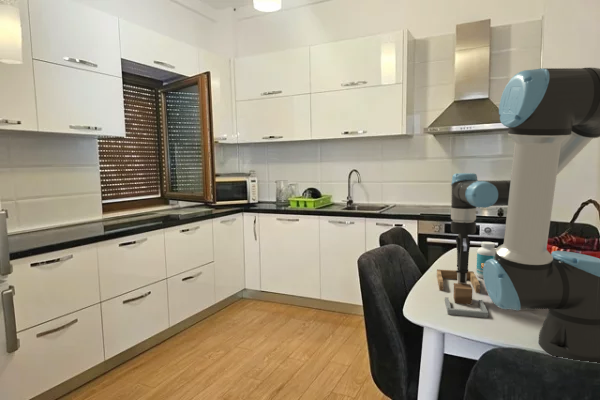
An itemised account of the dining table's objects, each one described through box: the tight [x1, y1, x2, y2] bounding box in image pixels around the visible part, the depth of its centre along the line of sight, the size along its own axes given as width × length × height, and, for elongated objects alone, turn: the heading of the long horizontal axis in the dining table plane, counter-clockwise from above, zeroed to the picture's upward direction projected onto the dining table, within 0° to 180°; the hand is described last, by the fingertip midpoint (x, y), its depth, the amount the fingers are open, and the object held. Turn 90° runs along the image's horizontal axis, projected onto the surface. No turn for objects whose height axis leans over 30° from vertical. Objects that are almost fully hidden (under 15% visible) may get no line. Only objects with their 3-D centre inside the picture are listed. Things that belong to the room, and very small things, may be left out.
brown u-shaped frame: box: [436, 269, 481, 294], centre depth 142 cm, size 16×13×3 cm
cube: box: [453, 282, 473, 305], centre depth 126 cm, size 5×5×5 cm
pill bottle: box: [475, 241, 496, 280], centre depth 150 cm, size 8×7×14 cm
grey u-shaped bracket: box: [444, 296, 489, 319], centre depth 119 cm, size 10×11×2 cm
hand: (461, 291), depth 129 cm, fingers closed
